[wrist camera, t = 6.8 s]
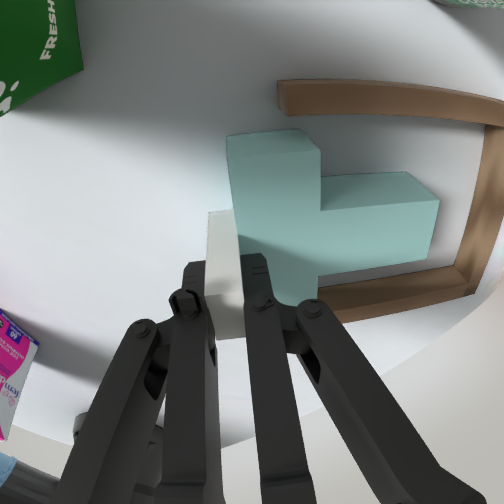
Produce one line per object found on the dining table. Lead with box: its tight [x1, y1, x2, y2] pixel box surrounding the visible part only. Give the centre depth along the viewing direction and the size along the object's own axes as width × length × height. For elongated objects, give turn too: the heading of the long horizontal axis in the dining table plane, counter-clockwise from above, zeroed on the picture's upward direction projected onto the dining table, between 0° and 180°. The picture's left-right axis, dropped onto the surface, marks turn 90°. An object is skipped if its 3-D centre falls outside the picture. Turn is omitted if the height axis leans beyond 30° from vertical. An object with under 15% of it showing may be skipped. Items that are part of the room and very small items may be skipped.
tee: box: [226, 129, 440, 306], centre depth 17 cm, size 10×11×4 cm
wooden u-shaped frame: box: [277, 79, 504, 324], centre depth 18 cm, size 16×16×2 cm
